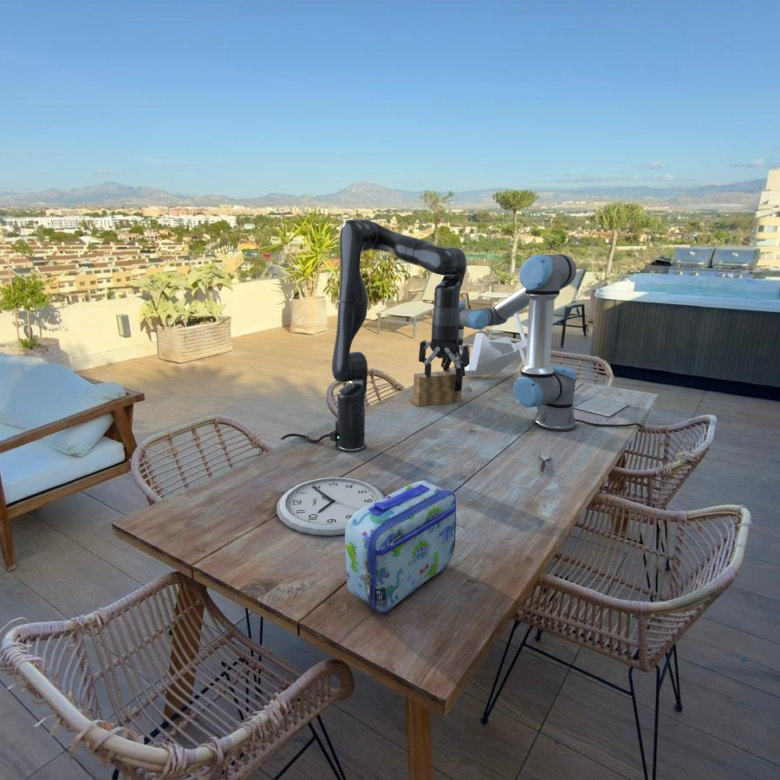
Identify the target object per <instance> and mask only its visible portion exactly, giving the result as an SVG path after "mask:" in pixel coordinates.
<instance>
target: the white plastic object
mask: <svg viewBox="0 0 780 780" xmlns="http://www.w3.org/2000/svg"><path fill="white" fill-rule="evenodd" d="M513 317H514V320H515V323H516V326H517V328H518V333H519V336H520V338H521V340H520V341H518V342H515V343H514V342H512V340H511V339H510V337H509V336H505V337H500V338H496V339H490V338H488V336H487V335H486V334H485V333H484V332H476V333H475V335H474V336H475V337H474V341H473V345H472V348H471V349H472V350H471V354H470V363H469V365H468V366H467V367H464V368H465V377H475V376H484V375H493V376H495V375H498V374H502V373H503V371H502V370H504V369H505V368H507V367H508V366H509V365H511V364H513V363H514V362H516V360H518V359H519V358H520V359H521V361H522V364H523V367H524V366H525V364H526V349H527V336H526V334H525V331H524V328H523V325H522V323H521V318H520V316H519V312H517V313H516V314H514V315H513Z"/></svg>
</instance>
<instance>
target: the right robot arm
mask: <svg viewBox="0 0 780 780" xmlns="http://www.w3.org/2000/svg"><path fill="white" fill-rule="evenodd" d="M577 272H578V271H577V265H576V262H575V261H574V259H572V257H570V256H568V255H567V254H563V253H561V254H559V253H557V254H543V253H542V254H537V255H532V256H530V257H528V258H527V259H526V260H525V261H524V262H523V263H522V265H521V267H520V270H519V273H518V274H519V275H518V276H519V277H518V278H519V282H520V284H521V286H522V287H519V289H517V290H515V291H514V292H513V293H511V294H509V295H508V296H507V297H505V298H503V299H502V300H500V301H499V302H497V303H496V304H494V305H492V306H491V307H484V308H475V309H474V308H466V302H464V301H460V304H459V311H460V323H459V338H458V342H459V345H464V339H463V338H464V333H465V331H464V330H465V328H468V329H473V330H478V331H479V330H481V331H482V330H483V329H485V328H486V327H493V326H500V325H504V324H506V323H507V322H508V321H509V319H510V318H511V317H512V316H514V314H516V313H519V312H520V311H523V310H524V309H526V308H527V307H528V316H527V330H526V331H527V332H526V339H527V349H526V353H525V356H526V364H525V366H524V365H523V367H521V368H520V377H518V378H517V379H516V380H515V381H514V383H513V394H514V397H515V399H516V400H517V401H518V403H519V404H520V405H522V406H523V407H526V408H536V410H537V411H536V413H535V416H534V424H535V425H536V426H537V427H539V428H542V429H544V430H549V431H556V432H567V431H572V430H574V429H575V428H576V422H577V423H582V424H586V425H588V426H589V425H590V426H595V427H612V428H613V427H615V428H616V427H632V426H638V427H639V428H642V429H643V428H644V426H643V424H642V425H641V424H640V423H637V422H633V423H624V424H623V423H621V424H620V423H619V424H610V423H609V424H605V423H594V422H589V421H586V420H582V419H576V418H575V417H576V416H575V413H574V407H573V405H574V398H575V391H576V383H577V372H576V371H575V369H573V368H571V367H570V368H569V367H566V366H561V365H551V358H552V356H551V355H552V343H553V329H554V328H553V327H554V313H555V300H556V299H557V298H558V297H559V296H560V293H561V292H560V291H562V290H563V289H564V288H567V287H568V286H569V285H571V284H572V283H573V281H574V280H575V279H576V276H577ZM456 353H457V354H458V356H459V358H460V360H461V362H463V353H462V352H461V350H460V349H459V350H458V351H457V352H456ZM455 356H456V355H455ZM452 363H453V362H452V360H451V359H444V358H441V363H440V368H442V371H451V370H450V369H451V368H450V366H451V364H452ZM453 365H454V366H453V367H454V370H455V371H456V368H457V367H456V365H455V364H454V363H453ZM462 377H463V378H464V377H466V375H465V368H464V367H463V368H462ZM462 377H461V379H459V381H455V392H456V391H461V383H462V384H463V380H462Z"/></svg>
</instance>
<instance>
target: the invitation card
mask: <svg viewBox="0 0 780 780" xmlns="http://www.w3.org/2000/svg"><path fill="white" fill-rule="evenodd" d="M628 406H629V404H627V403H623V402H618V401H614V400H609V399H605V398H601V397H596V396H593V397H592V398H590V399H588V400H586V401H584V402H582V403H580V404H578V405H575V406H574V407H573V409H575V410H581V411H584V412H587V413H593V414H596V415H600V416H604V417H608V418H609V417H611V416H613V415H614V414H616V413H617V412H619V411H621V410H623V409H624V408H626V407H628Z"/></svg>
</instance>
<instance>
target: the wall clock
mask: <svg viewBox="0 0 780 780" xmlns="http://www.w3.org/2000/svg"><path fill="white" fill-rule="evenodd" d="M384 497H386V495H385V494H384V493H383V492H382V491H381V490H380V489H379V488H377V487H376V486H374V485H372V484H371V483H369V482H365V481H362V480H359V479H355V478H349V477H338V476H337V477H335V476H333V477H332V476H331V477H322V478H317V479H312V480H307V481H305V482H302V483H299V484H297V485H295V486H293V487H292V488H290V489H288V490H287V491H286V492H285V493H284V494H283V495H281V496H280V498H279V499H278V502H277V503H276V515H277V517H278V518H279V520H280V521H281V522H282V523H283V524H285V525H286V526H287V527H288V528H290V529H293V530H295V531H297V532H299V533H303V534H308V535H312V536H327V537H328V536H329V537H331V536H332V537H333V536H342V535H345V531H346V527H347V524H348V522H349V520H350V518H351V517H352V515H353V514H354V513H355V512H357V511H358V510H360V509H362V508H364V507H366V506H368V505H370V504H372V503H374V502H376V501H378V500H380V499H382V498H384Z"/></svg>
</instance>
